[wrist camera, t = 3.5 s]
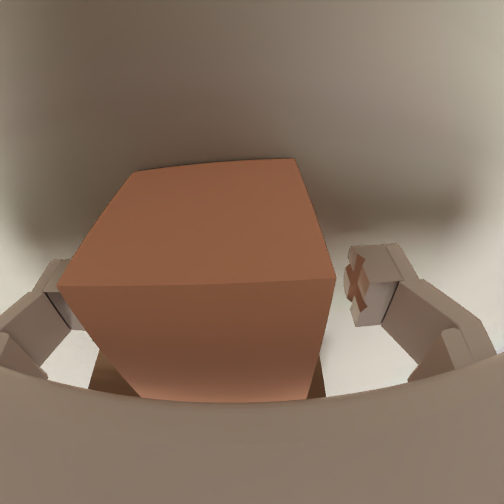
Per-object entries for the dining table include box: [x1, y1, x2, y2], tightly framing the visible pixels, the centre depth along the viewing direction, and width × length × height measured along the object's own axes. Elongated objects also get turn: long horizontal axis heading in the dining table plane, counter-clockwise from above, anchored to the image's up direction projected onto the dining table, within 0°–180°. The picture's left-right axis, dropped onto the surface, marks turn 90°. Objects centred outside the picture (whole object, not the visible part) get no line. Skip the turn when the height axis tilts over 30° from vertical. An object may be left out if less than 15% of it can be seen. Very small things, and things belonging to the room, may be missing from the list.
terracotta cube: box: [56, 158, 336, 403], centre depth 8 cm, size 5×5×5 cm
